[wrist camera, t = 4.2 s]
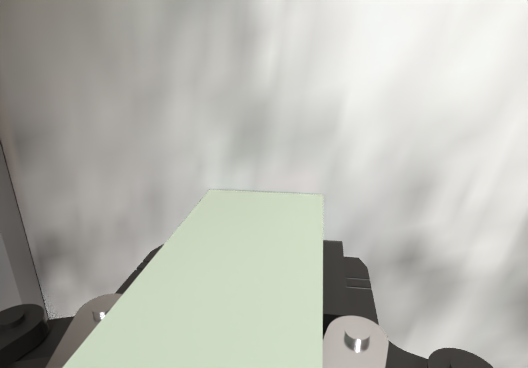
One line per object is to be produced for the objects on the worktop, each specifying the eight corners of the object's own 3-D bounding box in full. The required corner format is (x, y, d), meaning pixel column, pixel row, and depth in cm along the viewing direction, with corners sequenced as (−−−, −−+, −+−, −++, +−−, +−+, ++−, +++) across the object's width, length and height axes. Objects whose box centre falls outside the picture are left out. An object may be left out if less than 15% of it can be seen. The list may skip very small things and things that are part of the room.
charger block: (209, 189, 13) (40, 394, 5) (323, 194, 12) (322, 434, 5) (216, 283, 14) (91, 554, 7) (318, 292, 14) (311, 601, 6)
